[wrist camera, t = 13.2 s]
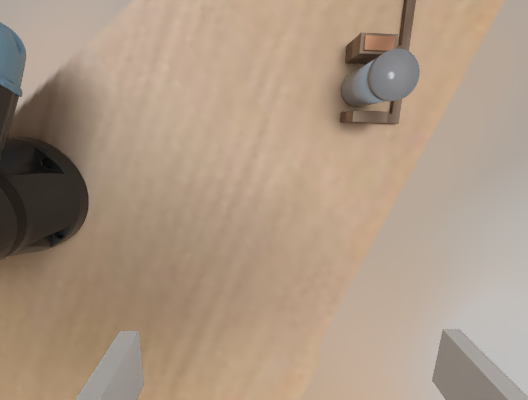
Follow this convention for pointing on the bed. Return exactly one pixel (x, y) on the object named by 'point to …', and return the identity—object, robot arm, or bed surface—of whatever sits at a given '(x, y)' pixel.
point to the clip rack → (368, 50)
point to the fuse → (382, 79)
